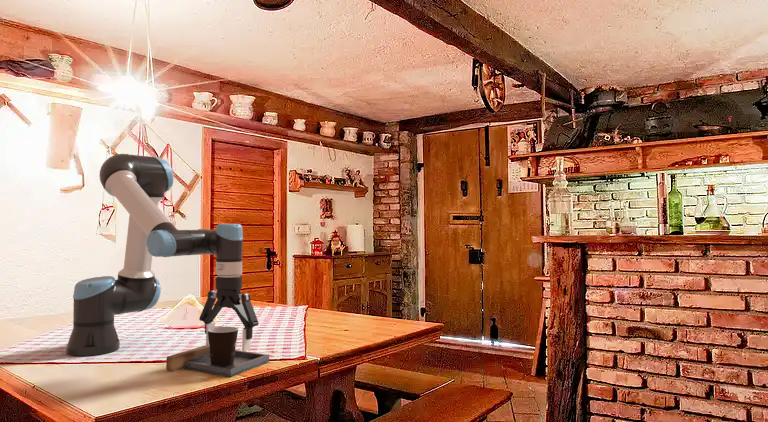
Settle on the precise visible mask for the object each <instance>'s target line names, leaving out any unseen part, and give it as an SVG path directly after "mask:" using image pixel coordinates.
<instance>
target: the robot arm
mask: <svg viewBox="0 0 768 422" xmlns="http://www.w3.org/2000/svg"><path fill="white" fill-rule="evenodd" d="M99 181H100V184H101V185H102V188H103V189H104V190H105V192H107V194H109V195H110V196H112V197H115V198H116V199H117V201H118V202H119V204H121V205H122V207H123V208H124V209H125V210H126V212H127V213H128V214H129V217H128V225H127V234H126V235H127V236H126V245H125V252H124V262H123V268H122V269H120V270H119V271H118V273H117V279H116V278H115V277H114V276H111V275H110V276H109V275H106V276H105V275H104V276H103V275H102V276H95V277H91V278H90V277H89V278H85V279H82V280H80V281H78V282H77V283H76V284H75V285H74V289H73V296H72V298H73V312H72V313H73V315H72V316H73V320H72V321H73V323H72V324H73V325H72V326H73V327H72V331H71V333H70V335H69V339H68V343H67V344H66V351H65V352H66V354H67V355H69V356H75V357H77V356H78V357H86V356H87V357H88V356H98V355H104V354H109V353H112V352H116V351H117V350H119V349H120V343H121V342H120V339H119V335H118V333H117V330H116V326H115V316H116V315H122V314H123V315H124V314H129V313H138V312H139V313H141V312H143V311H147V310H150V309H152V308H154V307H155V306H156V305H157V303H158V301H159V300H160V296H161V289H162V288H161V285H160V280H158V278H156V274H155V273H154V271H153V270H152V264H153V263H152V261H153V257H155V258H158V257H161V258H170V257H182V256H183V257H185V256H199V255H200V256H201V255H215V257H216V258H215V262H216V263H215V274H216V275H217V276H216V277H215V290H208V292H207V299H206V302H205V304H204V307H203V309H202V311H201V313H200V315H199V318H198V320H199V321H200V322H203V324H204V334H205V335H206V336H205V340H206V341H205V345H206V346H209V339H208V329H210V328H214V327H216V326H215V325H216V323H215V318H216V317H217V316H218V315H219V313H220V311H221V310H222V309H223V308H228V309H232V310H233V311H234V312H235V313H236V315H237V317H238V318H239V320H240V322H241V323H242V325H243V328H242V331H241V332H242V334H241V335H242V336H241V337H242V339H241V341H242V345H241V347H242V348H241V351H246V352H248V351H249V350H251V340H252V339H253V328H254V327H257V326H259V323H260V322H259V321H258V317H257V315H256V312H255V310H254V307H253V304H252V301H251V294H250V293H249V292H246V293H241V291H242V290H241V289H242V287H243V277H242V276H241V275H242V274H243V252H244V251H243V245H244V244H243V243H244V242H243V241H244V236H243V235H244V233H243V226H242V224H239V223H218V224H217V225H216V228H215V229H207V228H200V229H178V228H177V227H176V226H175V225H174V224H173V222H171V220H169V218H167V216H166V215H165V213H163V211H162V210H161V209H160V208H159V202H161V201H162V200H163V199H164V198H165V193H166V192H169V191H170V190H171V188H172V187H173V185H174V171H173V168H172V166H170V163H169V162H168V161H167V160H166V159H164V158H161V157H160V158H159V157H156V156H148V155H147V156H146V155H137V154H128V153H117V154H114V155H112V156H110V157H108V158H107V159H105V161H104V162H103V163H102V165H101V167H100V170H99ZM216 299H217V300H216Z"/></svg>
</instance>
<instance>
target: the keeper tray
mask: <svg viewBox="0 0 768 422" xmlns="http://www.w3.org/2000/svg"><path fill="white" fill-rule="evenodd" d="M269 362H270V354H266V353H260V352H252V351H242V350H238V349H236V350H235V357H234V363H233V364H232V365H230V366H224V367H222V366H216V365H211V359H210V353H209V354H206V355H203V356H200V357H197V358H194V359H191V360H187V361H184V368H183V369H184V370H185V371H186V370H187V371H192V372H198V373H203V374H210V375H215V376H216V375H217V376H221V377H226V378H233V377H235V376H237V374H238V375H240V374H243V373H245V372H248V371H250V370H252V368H253V369H255V368H258V367H260V366H262V365H265V364H268V363H269ZM247 370H248V371H247ZM244 371H245V372H244ZM242 372H243V373H242Z"/></svg>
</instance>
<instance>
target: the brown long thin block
mask: <svg viewBox="0 0 768 422" xmlns="http://www.w3.org/2000/svg"><path fill="white" fill-rule="evenodd" d="M209 353H210V349H209V346H206V344H205V345H202V346H198V347H196V348H192V349H188V350H184V351H181V352H179V353H174V354H172V355H168V356H166V364H165V365H166V370H165V371H166V372H170V373H171V372H172V373H173V372H177V371H179V370H183V369H184V361H187V360H191V359H194V358H197V357H200V356H203V355H206V354H209Z"/></svg>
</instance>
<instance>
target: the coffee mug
mask: <svg viewBox="0 0 768 422" xmlns="http://www.w3.org/2000/svg"><path fill="white" fill-rule="evenodd" d="M238 333H239V328H238V327H237V326H215V327H214V328H210V329H208V339H209V349H210V359H211V365H216V366H222V367H224V366H230V365H232V364H233V363H234V357H235V350H237V341H238Z"/></svg>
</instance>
